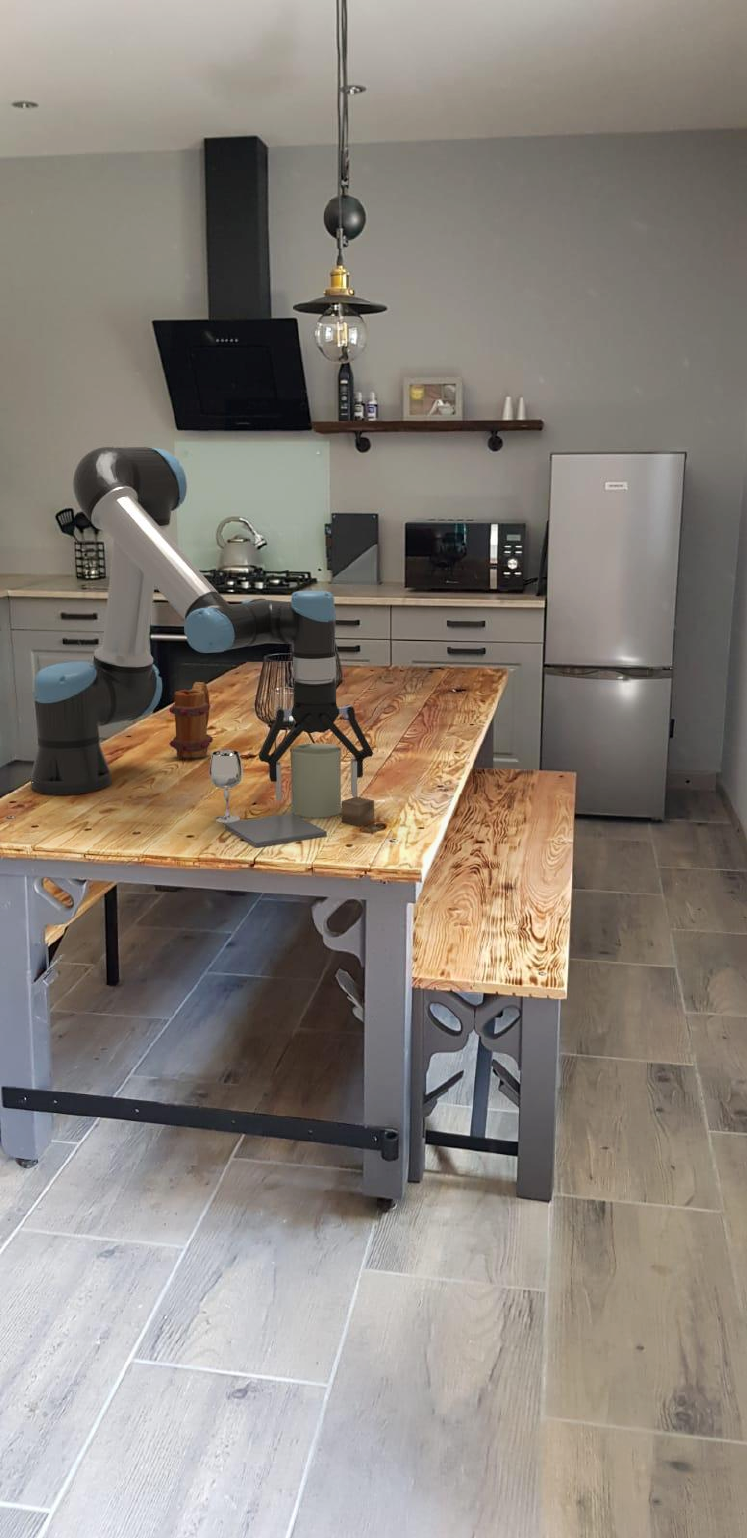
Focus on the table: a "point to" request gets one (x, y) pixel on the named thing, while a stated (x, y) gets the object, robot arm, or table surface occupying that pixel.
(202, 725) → the mug
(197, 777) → the table surface
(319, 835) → the coaster
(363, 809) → the walnut block
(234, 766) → the wineglass
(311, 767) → the can
